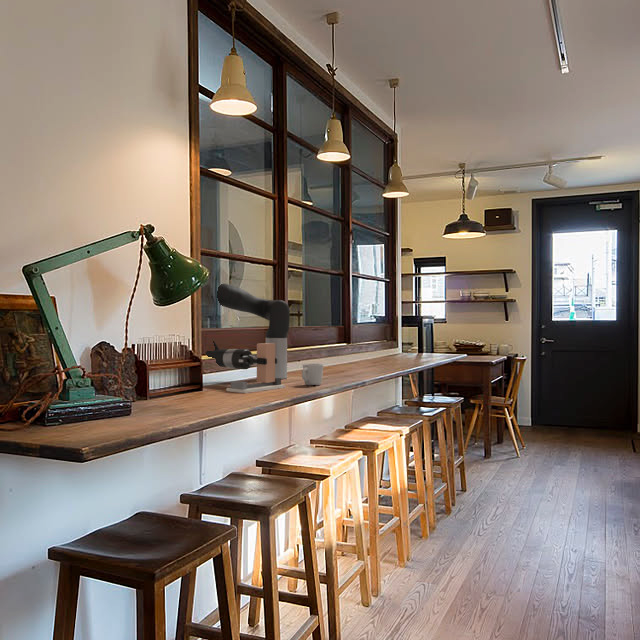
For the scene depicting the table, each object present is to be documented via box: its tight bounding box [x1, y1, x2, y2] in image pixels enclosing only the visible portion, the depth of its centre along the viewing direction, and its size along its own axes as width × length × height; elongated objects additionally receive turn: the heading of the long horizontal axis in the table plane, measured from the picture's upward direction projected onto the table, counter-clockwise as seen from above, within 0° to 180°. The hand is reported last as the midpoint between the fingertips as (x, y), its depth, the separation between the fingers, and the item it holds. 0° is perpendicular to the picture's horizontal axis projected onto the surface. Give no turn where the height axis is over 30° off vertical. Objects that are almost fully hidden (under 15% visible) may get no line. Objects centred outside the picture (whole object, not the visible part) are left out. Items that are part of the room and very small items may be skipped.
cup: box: [301, 363, 324, 386], centre depth 230 cm, size 11×8×8 cm
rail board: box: [226, 378, 286, 394], centre depth 216 cm, size 21×9×4 cm, turn 143°
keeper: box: [256, 342, 275, 383], centre depth 220 cm, size 5×4×14 cm
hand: (271, 361), depth 218 cm, fingers closed on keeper, 5 cm apart
